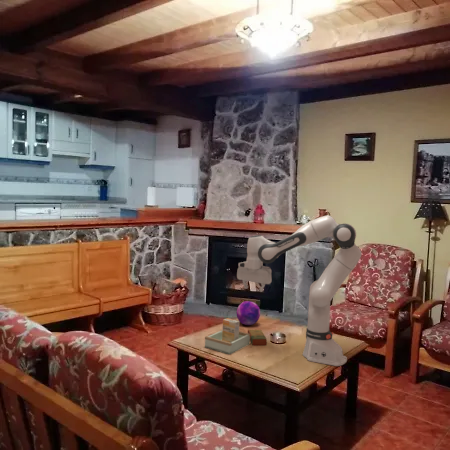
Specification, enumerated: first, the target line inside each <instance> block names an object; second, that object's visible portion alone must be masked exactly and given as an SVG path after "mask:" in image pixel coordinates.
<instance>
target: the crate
mask: <svg viewBox="0 0 450 450" xmlns="http://www.w3.org/2000/svg"><path fill="white" fill-rule="evenodd" d="M222 330H223V329H221V330H219V331H217V332H214V333H212V334H210V335H207V336H204V348H206V349H209V350H212V351H216V352H220V353H222V354H225V355H226V354H227V355H230V356H231V355H232V354H234V353H235V352H237V351H240V350H241V349H243V348H245V347H247V346H249V345H250V344H251V342H250V334H248V332H244V331H240V330H239V339H237V340H235V341H233V342H231V343H230V342H226V341H222Z"/></svg>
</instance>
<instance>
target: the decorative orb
mask: <svg viewBox="0 0 450 450" xmlns="http://www.w3.org/2000/svg"><path fill="white" fill-rule="evenodd" d="M236 317H237V321H240V323H241V324H243V325H245V326H253V325H254V324H256V323H257V322H258V321H259V319H260V317H261V309H260V306H259V305H258V304H257V303H256V302H253V301H252V300H244V301H243V302H241V303H240V304H239V305H238V307H237V308H236Z"/></svg>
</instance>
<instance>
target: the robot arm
mask: <svg viewBox="0 0 450 450" xmlns="http://www.w3.org/2000/svg"><path fill="white" fill-rule="evenodd" d="M329 237H332V238H333V239H334V241H335V242H336V243H337V244H338V246H339V247H340V248H339V250H338V251H337V253H336V255H334V257H333V258H332V259H331V261H330V262H329V264H328V265H327V266H326V267H325V269H324V270H323V272H322V274H321V275H320V276H319V278H318V279H317V280H315V281H313V282H312V283H311V284H310V286H309V291H308V293H309V295H308V310H307V311H308V313H307V327H306V330H305V344H304V345H305V346H304V348H303V352H302V356H303V357H304V358H306V359H307V361H308V362H314V363H319V364H324V365H329V366H333V367H334V366H335V367H340V366H343V365H345V364H346V363H347V361H348V357H347V356H345V355H344V353H343V348H342V346H341V345H340V344H339V343H338V342H336V341H335V339H333V335H334V332H333V331H332V332H331V330H330V318H331V301H332V300H333V298H334V296H335V295H336V294H337V292H338V291H339V289H340V287H341V286H342V285H343V283H344V281H346V279H347V278H348V276H349V275H350V274H351V272H352V271H353V270H354V269H355V267H356V266H357V265H358V263H359V261H360V260H361V257H362V250H361V249H360V248H359V247H358V245H357V244H356V243H355V241H356V238H357V232H356V229H355V228H354V226H352V224H349V223H338V222H336V220H335V218H334V217H332V216H331V215H328V214H327V215H324V216H323V215H322V216H320V217H316V218H314V219H312V220H310V221H308V222H306V223H304V224H303V225H302V226H300V227H299V228H298V229H296V231H295V232H293V233H292V234H291V235H289V236H288V237H285V238H284V239H282V240H279V241H277V242H275V241H271V240H269V239H268V238H265V236H263V235H261V234H256V235H251V236H250V237H249V238H248V240H247V245H246V246H247V247H246V252H247V256H246V260H244V261H243V262H242V261H241V262H238V268H237V272H236V278H237V280H239V281H242V283H243V287H244V289H245V290H246V289H247V290H248V288H249V285H248V284H247V282H250V283H257V284H261V287H259V289H258V291H259V292H263V291H264V288H265V286H266V285H271V283H272V280H273V279H272V269H271V267H270V266H265V265H263V264H272V263H274V262H275V261H276V259H278V258H279V256H281V255H282V254H284V253H287V252H288V251H290V250H293V249H295V248H297V247H302V246H305V245H310V244H314V243H316V242H319V241H321V240H323V239H325V238H329Z"/></svg>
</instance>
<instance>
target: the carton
mask: <svg viewBox="0 0 450 450" xmlns="http://www.w3.org/2000/svg"><path fill="white" fill-rule="evenodd" d="M247 333H248V334H250V344H251V346H256V347H257V346H261V347H262V346H265V347H266V346H267V344H268V343H267V340H268V338H267V337H266V336H265V334H264V331H263V330H262V329H247Z"/></svg>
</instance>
